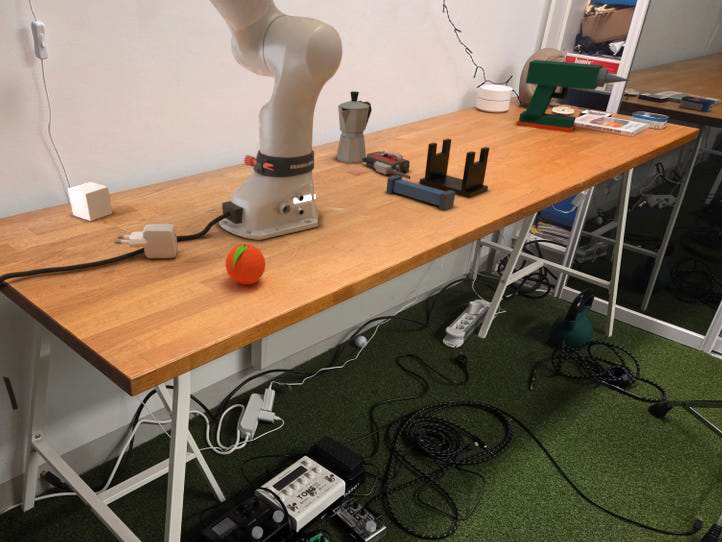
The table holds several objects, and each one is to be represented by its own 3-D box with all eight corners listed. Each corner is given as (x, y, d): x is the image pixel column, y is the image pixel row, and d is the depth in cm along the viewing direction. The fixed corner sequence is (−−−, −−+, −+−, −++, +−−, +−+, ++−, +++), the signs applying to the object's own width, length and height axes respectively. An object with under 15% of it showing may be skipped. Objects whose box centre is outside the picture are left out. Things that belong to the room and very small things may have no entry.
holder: (469, 197, 147) (476, 154, 141) (419, 183, 156) (423, 142, 150) (487, 190, 151) (494, 148, 146) (437, 177, 160) (443, 137, 155)
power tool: (617, 133, 203) (635, 67, 192) (613, 137, 198) (632, 70, 187) (521, 121, 217) (533, 59, 206) (516, 125, 212) (528, 61, 201)
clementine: (253, 296, 103) (251, 258, 99) (216, 289, 105) (213, 251, 101) (272, 277, 109) (271, 240, 105) (237, 271, 111) (235, 234, 107)
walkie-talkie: (355, 165, 169) (406, 183, 155) (356, 149, 166) (408, 166, 153) (379, 160, 173) (430, 178, 160) (380, 144, 171) (432, 160, 157)
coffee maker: (351, 166, 168) (355, 96, 158) (325, 161, 172) (327, 92, 162) (379, 155, 178) (384, 89, 168) (354, 150, 182) (358, 85, 172)
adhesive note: (73, 215, 135) (67, 188, 131) (95, 207, 139) (90, 181, 136) (90, 221, 132) (85, 193, 129) (112, 213, 136) (108, 186, 133)
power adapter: (116, 261, 114) (111, 231, 111) (121, 251, 119) (116, 222, 115) (176, 260, 115) (172, 230, 112) (179, 250, 119) (175, 221, 116)
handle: (444, 210, 139) (446, 195, 137) (386, 192, 150) (387, 178, 148) (453, 206, 141) (455, 191, 139) (395, 189, 152) (396, 175, 150)
